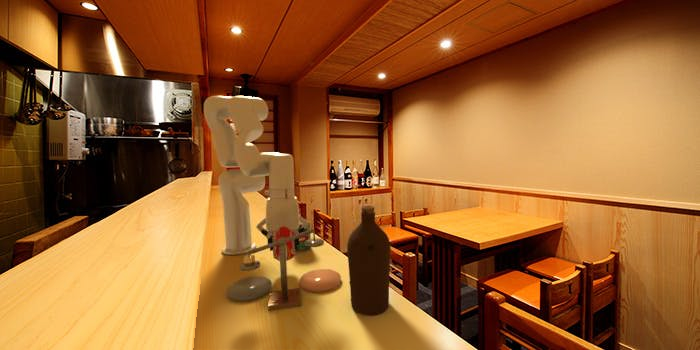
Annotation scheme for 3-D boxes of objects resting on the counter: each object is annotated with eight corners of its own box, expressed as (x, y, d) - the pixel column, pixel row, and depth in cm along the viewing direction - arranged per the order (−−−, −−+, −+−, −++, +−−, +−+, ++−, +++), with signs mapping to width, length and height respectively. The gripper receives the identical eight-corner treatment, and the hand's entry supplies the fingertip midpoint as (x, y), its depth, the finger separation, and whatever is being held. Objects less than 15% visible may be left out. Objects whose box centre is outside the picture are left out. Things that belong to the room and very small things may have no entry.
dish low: (231, 282, 84) (231, 279, 84) (273, 278, 87) (273, 274, 86) (221, 304, 73) (221, 300, 72) (270, 298, 75) (269, 294, 75)
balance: (244, 299, 75) (239, 230, 73) (324, 289, 79) (322, 224, 77) (239, 314, 68) (234, 239, 66) (327, 302, 72) (324, 231, 70)
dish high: (299, 275, 88) (299, 271, 88) (337, 270, 90) (337, 267, 90) (300, 294, 76) (300, 290, 76) (344, 289, 79) (343, 285, 79)
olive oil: (400, 307, 69) (399, 207, 67) (365, 323, 63) (363, 214, 61) (373, 289, 78) (371, 201, 75) (340, 302, 72) (337, 206, 70)
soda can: (290, 263, 86) (289, 225, 85) (268, 261, 88) (267, 224, 86) (298, 254, 93) (298, 219, 92) (279, 252, 95) (277, 218, 93)
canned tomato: (307, 244, 116) (306, 218, 115) (314, 250, 109) (312, 222, 108) (288, 247, 112) (287, 220, 111) (294, 254, 105) (292, 225, 104)
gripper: (251, 197, 82) (253, 255, 85) (310, 194, 86) (312, 250, 88) (254, 192, 90) (257, 246, 92) (309, 190, 93) (310, 242, 95)
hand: (283, 247), depth 90 cm, fingers closed on soda can, 7 cm apart
